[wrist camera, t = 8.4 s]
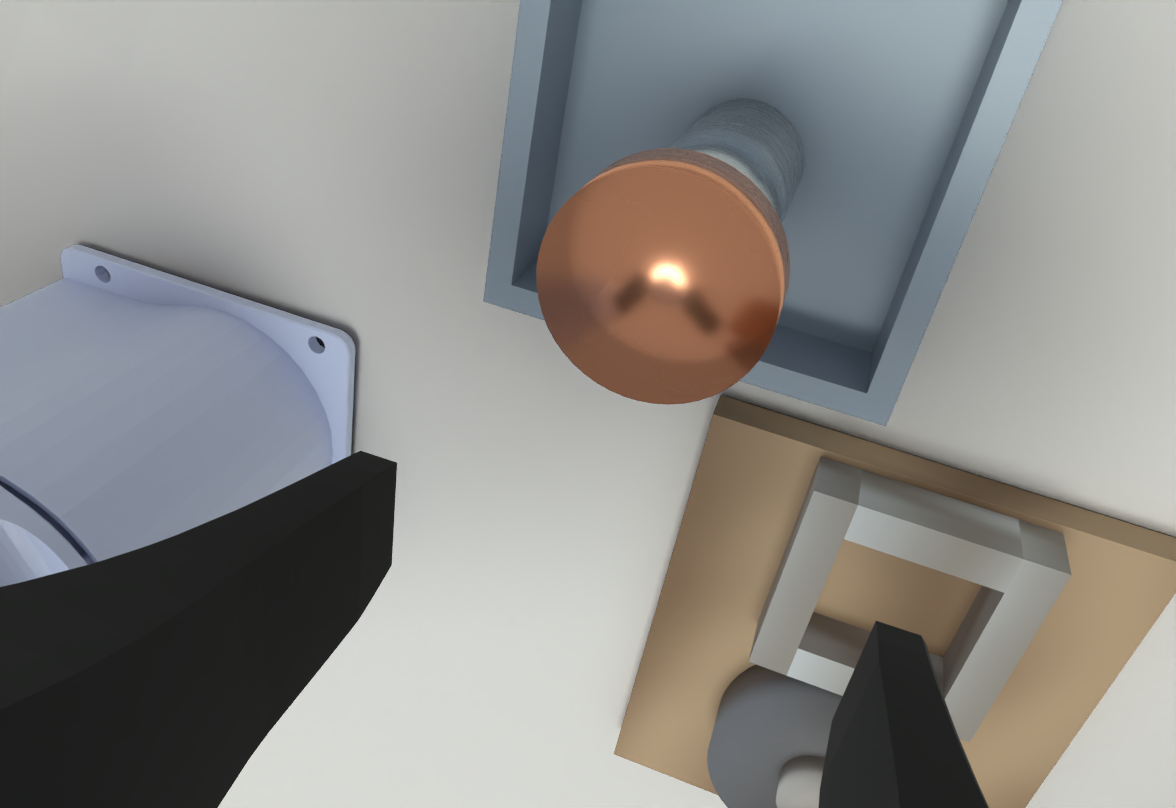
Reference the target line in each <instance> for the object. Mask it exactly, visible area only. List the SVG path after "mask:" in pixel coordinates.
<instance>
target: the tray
mask: <svg viewBox="0 0 1176 808" xmlns="http://www.w3.org/2000/svg"><path fill="white" fill-rule="evenodd" d="M1062 1H1063V0H520V9H519V17H518V25H517V33H516V41H515V49H514V57H513V65H512V74H511V82H510V90H509V98H508V106H507V114H506V122H505V130H504V138H503V147H502V155H501V163H500V171H499V179H498V187H497V195H496V203H495V212H494V220H493V228H492V236H491V244H490V252H489V260H488V268H487V277H486V285H485V293H484V302H487V303H490V304H494V305H497V306H500V307H503V308H507V309H510V310H513V311H516V312H519V313H523V314H526V315H529V316H532V317H536V318H539V319H542V320H545V319H544V317H543V314H542V311H541V307H540V303H539V299H538V292H537V284H536V268H537V261H538V254H539V250H540V247H541V243H542V240H543V237H544V235H545V233H546V230H547V228H548V226H549V224H550V223H551V221H552V220H553V218H554V216H555V215H556V213H557V212H558V211H559V210H560V208H561V207H562V206H563V205H564V204H565V203H566V202H567V201H568V200H569V199H570V198H571V197H572V196H573V195H574V194H576V193H577V192H578V191H579V190H580V189H581V188H582V187H584V186H585V185H586V184H587V183H588V182H589V181H590V180H592V179H593V178H594V177H595V176H596V175H597V174H598V173H600V172H601V171H602V170H603V169H605V168H606V167H608V166H609V165H611V164H612V163H614V162H616V161H618V160H620V159H622V158H624V157H626V156H628V155H632V154H635V153H638V152H641V151H646V150H652V149H659V148H670V147H671V146H672V145H673V144H674V143H675V142H676V141H677V140H678V139H679V138H680V137H681V136H682V135H683V134H684V133H685V132H686V131H687V130H688V129H689V128H690V127H691V126H692V125H693V124H694V123H695V122H696V121H697V120H698V119H699V118H700V117H701V116H702V115H703V114H704V113H705V112H706V111H708V110H709V109H711V108H712V107H714V106H716V105H718V104H720V103H723V102H726V101H729V100H735V99H753V100H758V101H762V102H764V103H767V104H769V105H771V106H773V107H775V108H777V109H778V110H779V111H781V112H782V113H783V114H784V115H785V116H786V117H787V118H788V119H789V120H790V121H791V122H792V124H793V125H794V126H795V128H796V130H797V132H798V134H799V136H800V138H801V141H802V145H803V149H804V170H803V175H802V179H801V182H800V184H799V186H798V189H797V191H796V193H795V195H794V198H793V200H792V202H791V205H790V207H789V209H788V212H787V214H786V216H785V219H784V221H783V223H782V226H783V228H784V231H785V235H786V238H787V242H788V247H789V254H790V279H789V286H788V291H787V294H786V298H785V301H784V304H783V307H782V310H781V313H780V316H779V319H778V322H777V325H776V328H775V330H774V333H773V336H772V338H771V340H770V342H769V345H768V347H767V349H766V350H765V352H764V354H763V355H762V357H761V358H760V360H759V361H758V362H757V364H756V365H755V366H754V367H753V368H752V369H751V370H750V372H749V373H747V374H746V375H745V376H744V377H743V378H742V379H741V380H739V381H742V382H745V383H748V384H751V385H755V386H758V387H761V388H764V389H767V390H771V391H774V392H777V393H780V394H784V395H787V396H790V397H793V398H796V399H800V400H803V401H806V402H809V403H813V404H816V405H819V406H822V407H825V408H829V409H832V410H835V411H838V412H842V413H845V414H848V415H851V416H854V417H858V418H861V419H864V420H867V421H870V422H874V423H877V424H880V425H883V426H886V425H887V422H888V420H889V417H890V415H891V413H892V410H893V408H894V405H895V403H896V401H897V398H898V396H899V393H900V391H901V389H902V386H903V384H904V381H905V379H906V376H907V374H908V372H909V369H910V367H911V364H912V362H913V360H914V357H915V355H916V352H917V350H918V348H919V345H920V343H921V340H922V338H923V336H924V333H925V331H926V328H927V326H928V324H929V321H930V319H931V316H932V314H933V312H934V309H935V307H936V304H937V302H938V300H939V297H940V295H941V292H942V290H943V288H944V285H945V283H946V280H947V278H948V276H949V273H950V271H951V268H952V266H953V263H954V261H955V259H956V256H957V254H958V251H959V249H960V247H961V244H962V242H963V239H964V237H965V235H966V232H967V230H968V227H969V225H970V223H971V220H972V218H973V215H974V213H975V211H976V208H977V206H978V203H979V201H980V199H981V196H982V194H983V191H984V189H985V187H986V184H987V182H988V179H989V177H990V175H991V172H992V170H993V167H994V165H995V162H996V160H997V158H998V155H999V153H1000V150H1001V148H1002V146H1003V143H1004V141H1005V138H1006V136H1007V134H1008V131H1009V129H1010V126H1011V124H1012V122H1013V119H1014V117H1015V114H1016V112H1017V110H1018V107H1019V105H1020V102H1021V100H1022V98H1023V95H1024V93H1025V90H1026V88H1027V86H1028V83H1029V81H1030V78H1031V76H1032V74H1033V71H1034V69H1035V66H1036V64H1037V62H1038V59H1039V57H1040V54H1041V52H1042V49H1043V47H1044V45H1045V42H1046V40H1047V37H1048V35H1049V33H1050V30H1051V28H1052V25H1053V23H1054V21H1055V18H1056V16H1057V13H1058V11H1059V9H1060V6H1061V4H1062Z"/></svg>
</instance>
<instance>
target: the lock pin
mask: <svg viewBox="0 0 1176 808" xmlns="http://www.w3.org/2000/svg"><path fill="white" fill-rule="evenodd" d="M803 170H804V149H803V145H802V141H801V138H800V136H799V134H798V132H797V130H796V128H795V126H794V125H793V124H792V122H791V121H790V120H789V119H788V118H787V117H786V116H785V115H784V114H783V113H782V112H781V111H779V110H778V109H777V108H775V107H773V106H771V105H769V104H767V103H764V102H762V101H758V100H753V99H735V100H729V101H726V102H723V103H720V104H718V105H716V106H714V107H712V108H711V109H709V110H708V111H706V112H705V113H704V114H703V115H702V116H701V117H700V118H699V119H698V120H697V121H696V122H695V123H694V124H693V125H692V126H691V127H690V128H689V129H688V130H687V131H686V132H685V133H684V134H683V135H682V136H681V137H680V138H679V139H678V140H677V141H676V142H675V143H674V144H673V145H672V146H671V147H670V148H659V149H652V150H646V151H641V152H638V153H635V154H632V155H628V156H626V157H624V158H622V159H620V160H618V161H616V162H614V163H612V164H611V165H609V166H608V167H606V168H605V169H603V170H602V171H601V172H600V173H598V174H597V175H596V176H595V177H594V178H593V179H592V180H590V181H589V182H588V183H587V184H586V185H585V186H584V187H582V188H581V189H580V190H579V191H578V192H577V193H576V194H574V195H573V196H572V197H571V198H570V199H569V200H568V201H567V202H566V203H565V204H564V205H563V206H562V207H561V208H560V210H559V211H558V212H557V213H556V215H555V216H554V218H553V220H552V221H551V223H550V224H549V226H548V228H547V230H546V233H545V235H544V237H543V240H542V243H541V247H540V250H539V254H538V261H537V268H536V284H537V292H538V299H539V303H540V307H541V311H542V314H543V317H544V319H545V322H546V324H547V327H548V329H549V330H550V332H551V334H552V336H553V338H554V340H555V341H556V343H557V344H558V346H559V347H560V348H561V350H562V351H563V353H564V354H565V355H566V356H567V357H568V358H569V359H570V361H571V362H572V363H573V364H574V365H575V366H576V367H577V368H578V369H580V370H581V371H582V372H583V373H584V374H585V375H587V376H588V377H589V378H591V379H592V380H593V381H595V382H596V383H598V384H600V385H601V386H603V387H605V388H607V389H608V390H610V391H613V392H615V393H617V394H620V395H622V396H624V397H628V398H631V399H634V400H638V401H643V402H648V403H654V404H682V403H688V402H694V401H699V400H702V399H705V398H708V397H711V396H714V395H716V394H718V393H720V392H722V391H724V390H726V389H728V388H729V387H731V386H732V385H734V384H735V383H737V382H738V381H739V380H741V379H742V378H743V377H744V376H745V375H746V374H747V373H749V372H750V370H751V369H752V368H753V367H754V366H755V365H756V364H757V362H758V361H759V360H760V358H761V357H762V355H763V354H764V352H765V350H766V349H767V347H768V345H769V342H770V340H771V338H772V336H773V333H774V330H775V328H776V325H777V322H778V319H779V316H780V313H781V310H782V307H783V304H784V301H785V298H786V294H787V291H788V286H789V279H790V254H789V247H788V242H787V238H786V235H785V231H784V228H783V226H782V223H783V221H784V219H785V216H786V214H787V212H788V209H789V207H790V205H791V202H792V200H793V198H794V195H795V193H796V191H797V189H798V186H799V184H800V182H801V179H802V175H803Z"/></svg>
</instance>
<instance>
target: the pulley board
mask: <svg viewBox="0 0 1176 808" xmlns="http://www.w3.org/2000/svg"><path fill="white" fill-rule="evenodd" d="M1175 593H1176V538H1174V537H1171V536H1168V535H1165V534H1162V533H1158V532H1155V531H1152V530H1149V529H1146V528H1142V527H1139V526H1136V525H1133V524H1130V523H1127V522H1123V521H1120V520H1117V519H1114V518H1111V517H1107V516H1104V515H1101V514H1098V513H1095V512H1092V511H1088V510H1085V509H1082V508H1079V507H1076V506H1072V505H1069V504H1066V503H1063V502H1060V501H1057V500H1053V499H1050V498H1047V497H1044V496H1041V495H1037V494H1034V493H1031V492H1028V491H1025V490H1022V489H1018V488H1015V487H1012V486H1009V485H1006V484H1003V483H999V482H996V481H993V480H990V479H987V478H983V477H980V476H977V475H974V474H971V473H968V472H964V471H961V470H958V469H955V468H952V467H948V466H945V465H942V464H939V463H936V462H933V461H929V460H926V459H923V458H920V457H917V456H913V455H910V454H907V453H904V452H901V451H898V450H894V449H891V448H888V447H885V446H882V445H878V444H875V443H872V442H869V441H866V440H863V439H859V438H856V437H853V436H850V435H847V434H843V433H840V432H837V431H834V430H831V429H828V428H824V427H821V426H818V425H815V424H812V423H808V422H805V421H802V420H799V419H796V418H793V417H789V416H786V415H783V414H780V413H777V412H773V411H770V410H767V409H764V408H761V407H758V406H754V405H751V404H748V403H745V402H742V401H739V400H735V399H732V398H729V397H726V396H723V395H721V396H720V399H719V401H718V404H717V406H716V408H715V411H714V413H713V416H712V420H711V423H710V427H709V430H708V433H707V437H706V440H705V444H704V447H703V451H702V454H701V457H700V461H699V464H698V468H697V471H696V474H695V478H694V481H693V485H692V488H691V492H690V495H689V498H688V502H687V505H686V509H685V512H684V515H683V519H682V522H681V526H680V529H679V533H678V536H677V539H676V543H675V546H674V550H673V553H672V557H671V560H670V563H669V567H668V570H667V574H666V577H665V580H664V584H663V587H662V591H661V594H660V598H659V601H658V604H657V608H656V611H655V615H654V618H653V622H652V625H651V628H650V632H649V635H648V639H647V642H646V645H645V649H644V652H643V656H642V659H641V663H640V666H639V669H638V673H637V676H636V680H635V683H634V686H633V690H632V693H631V697H630V700H629V704H628V707H627V710H626V714H625V717H624V721H623V724H622V728H621V731H620V734H619V738H618V741H617V745H616V748H615V751H614V754H615V755H618V756H620V757H623V758H625V759H628V760H630V761H633V762H635V763H638V764H640V765H643V766H646V767H648V768H651V769H653V770H656V771H658V772H661V773H663V774H666V775H668V776H671V777H674V778H676V779H679V780H681V781H684V782H686V783H689V784H691V785H694V786H696V787H699V788H702V789H704V790H707V791H709V792H712V793H714V794H717V795H719V797H720V798H721V800H722V801H723V802H724V803H725V805H726V806H727V807H728V808H819V794H820V785H821V779H822V773H823V767H824V761H825V756H826V750H827V745H828V739H829V734H830V729H831V723H832V719H833V717H834V715H835V712H836V710H837V708H838V706H839V703H840V701H841V699H842V696H843V694H844V692H845V690H846V687H847V685H848V683H849V681H850V678H851V676H852V674H853V671H854V669H855V667H856V665H857V662H858V660H859V658H860V656H861V653H862V651H863V649H864V646H865V644H866V642H867V640H868V637H869V635H870V633H871V631H872V628H873V626H874V624H875V621H879V622H882V623H885V624H888V625H891V626H894V627H897V628H900V629H903V630H906V631H909V632H912V633H915V634H918V635H921V636H922V638H923V640H924V641H925V643H926V645H927V649H928V652H929V655H930V658H931V661H932V664H933V667H934V670H935V673H936V676H937V679H938V682H939V685H940V688H941V691H942V694H943V697H944V699H945V702H946V705H947V708H948V710H949V713H950V716H951V718H952V721H953V724H954V726H955V729H956V731H957V734H958V737H959V739H960V742H961V744H962V746H963V749H964V751H965V754H966V756H967V758H968V761H969V763H970V765H971V768H972V770H973V773H974V775H975V777H976V780H977V782H978V784H979V787H980V789H981V791H982V793H983V795H984V798H985V800H986V802H987V804H988V806H989V808H1025V807H1026V806H1027V804H1028V803H1029V801H1030V800H1031V798H1032V797H1033V796H1034V794H1035V793H1036V791H1037V790H1038V788H1039V787H1040V786H1041V784H1042V783H1043V781H1044V780H1045V778H1046V777H1047V776H1048V774H1049V773H1050V771H1051V770H1052V768H1053V767H1054V766H1055V764H1056V763H1057V761H1058V760H1059V758H1060V757H1061V756H1062V754H1063V753H1064V751H1065V750H1066V748H1067V747H1068V746H1069V744H1070V743H1071V741H1072V740H1073V738H1074V737H1075V736H1076V734H1077V733H1078V731H1079V730H1080V729H1081V727H1082V726H1083V724H1084V723H1085V721H1086V720H1087V719H1088V717H1089V716H1090V714H1091V713H1092V711H1093V710H1094V709H1095V707H1096V706H1097V704H1098V703H1099V701H1100V700H1101V699H1102V697H1103V696H1104V694H1105V693H1106V691H1107V690H1108V689H1109V687H1110V686H1111V684H1112V683H1113V681H1114V680H1115V679H1116V677H1117V676H1118V674H1119V673H1120V671H1121V670H1122V669H1123V667H1124V666H1125V664H1126V663H1127V661H1128V660H1129V659H1130V657H1131V656H1132V654H1133V653H1134V651H1135V650H1136V649H1137V647H1138V646H1139V644H1140V643H1141V641H1142V640H1143V639H1144V637H1145V636H1146V634H1147V633H1148V631H1149V630H1150V629H1151V627H1152V626H1153V624H1154V623H1155V622H1156V620H1157V619H1158V617H1159V616H1160V614H1161V613H1162V612H1163V610H1164V609H1165V607H1166V606H1167V604H1168V603H1169V602H1170V600H1171V599H1172V597H1173V596H1174V594H1175Z"/></svg>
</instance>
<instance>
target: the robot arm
mask: <svg viewBox="0 0 1176 808" xmlns="http://www.w3.org/2000/svg"><path fill="white" fill-rule="evenodd" d="M61 266H62V272H63V279H61V280H59V281H56V282H54V283H52V284H50V285H48V286H46V287H43V288H41V289H39V290H37V291H35V292H33V293H30V294H28V295H26V296H24V297H22V298H20V299H17V300H15V301H13V302H11V303H9V304H6V305H4V306H2V307H0V808H217V807H218V806H219V804H220V803H221V801H222V800H223V798H224V797H225V795H226V794H227V792H228V790H229V789H230V787H231V786H232V784H233V783H234V781H235V780H236V778H237V777H238V775H239V774H240V772H241V770H242V769H243V767H244V766H245V764H246V763H247V761H248V760H249V758H250V757H251V755H252V754H253V753H254V751H255V750H256V749H257V747H258V746H259V745H260V743H261V742H262V741H263V739H264V738H265V736H266V735H267V734H268V732H269V731H270V730H271V729H272V727H273V726H274V725H275V724H276V722H277V721H278V720H279V719H280V718H281V716H282V715H283V714H284V713H285V711H286V710H287V709H288V708H289V706H290V705H291V704H292V703H293V701H294V700H295V699H296V698H297V696H298V695H299V694H300V693H301V691H302V690H303V689H304V688H305V686H306V685H307V684H308V683H309V682H310V680H311V679H312V678H313V677H314V675H315V674H316V673H317V672H318V670H319V669H320V668H321V667H322V665H323V664H324V663H325V662H326V660H327V659H328V658H329V657H330V655H331V654H332V653H333V652H334V650H335V649H336V648H337V647H338V645H339V644H340V643H341V642H342V640H343V639H344V638H345V636H346V635H347V634H348V633H349V631H350V630H351V629H352V627H353V626H354V625H355V624H356V622H357V621H358V620H359V618H360V617H361V615H362V613H363V612H364V610H365V609H366V607H367V605H368V604H369V602H370V601H371V599H372V597H373V596H374V594H375V592H376V591H377V589H378V587H379V586H380V584H381V582H382V580H383V579H384V577H385V575H386V574H387V572H388V570H389V568H390V567H391V565H392V546H393V527H394V508H395V489H396V470H397V463H396V462H393V461H390V460H387V459H384V458H381V457H378V456H375V455H372V454H369V453H366V452H362V451H359V452H357V453H355V454H353V455H351V442H352V418H353V394H354V370H355V345H354V342H353V341H352V339H351V337H350V336H349V335H348V334H347V333H346V332H344V331H342V330H340V329H337V328H334V327H331V326H328V325H325V324H322V323H318V322H315V321H312V320H309V319H306V318H303V317H300V316H297V315H294V314H291V313H288V312H285V311H282V310H279V309H275V308H272V307H269V306H266V305H263V304H260V303H257V302H254V301H251V300H248V299H245V298H242V297H239V296H236V295H233V294H229V293H226V292H223V291H220V290H217V289H214V288H211V287H208V286H205V285H202V284H199V283H196V282H193V281H190V280H187V279H183V278H180V277H177V276H174V275H171V274H168V273H165V272H162V271H159V270H156V269H153V268H150V267H147V266H144V265H141V264H137V263H134V262H131V261H128V260H125V259H122V258H119V257H116V256H113V255H110V254H107V253H104V252H101V251H98V250H94V249H91V248H88V247H85V246H82V245H76V244H75V245H73V246H71V247H68V248H66V249H64V250H63V251H62V253H61ZM105 268H106V269H107V271H108V272H109V274H110V275H109V274H108V273H107V271H106V269H105ZM316 337H318V338H320V339H321V340H322V341H323V343H324V345H325V347H323V346H321V345H320V344H319V343H318V342H317V339H316ZM819 808H989V806H988V804H987V802H986V800H985V798H984V795H983V793H982V791H981V789H980V787H979V784H978V782H977V780H976V777H975V775H974V773H973V770H972V768H971V765H970V763H969V761H968V758H967V756H966V754H965V751H964V749H963V746H962V744H961V742H960V739H959V737H958V734H957V731H956V729H955V726H954V724H953V721H952V718H951V716H950V713H949V710H948V708H947V705H946V702H945V699H944V697H943V694H942V691H941V688H940V685H939V682H938V679H937V676H936V673H935V670H934V667H933V664H932V661H931V658H930V655H929V652H928V649H927V645H926V643H925V641H924V640H923V638H922V636H921V635H918V634H915V633H912V632H909V631H906V630H903V629H900V628H897V627H894V626H891V625H888V624H885V623H882V622H879V621H875V624H874V626H873V628H872V631H871V633H870V635H869V637H868V640H867V642H866V644H865V646H864V649H863V651H862V653H861V656H860V658H859V660H858V662H857V665H856V667H855V669H854V671H853V674H852V676H851V678H850V681H849V683H848V685H847V687H846V690H845V692H844V694H843V696H842V699H841V701H840V703H839V706H838V708H837V710H836V712H835V715H834V717H833V719H832V723H831V729H830V734H829V739H828V745H827V750H826V756H825V761H824V767H823V773H822V779H821V785H820V794H819Z"/></svg>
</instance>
